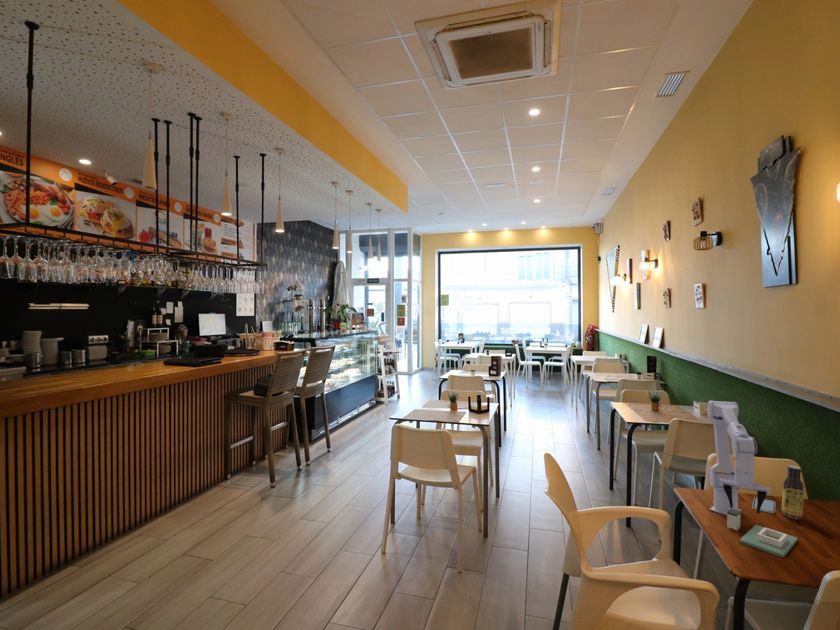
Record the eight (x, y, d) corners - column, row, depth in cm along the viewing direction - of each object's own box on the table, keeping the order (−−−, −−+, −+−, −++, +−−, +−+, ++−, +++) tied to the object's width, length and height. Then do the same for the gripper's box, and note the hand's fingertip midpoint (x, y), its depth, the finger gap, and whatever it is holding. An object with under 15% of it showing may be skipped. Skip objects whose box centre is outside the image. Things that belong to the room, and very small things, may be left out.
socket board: (755, 527, 163) (756, 519, 163) (797, 540, 153) (797, 532, 153) (739, 542, 152) (739, 533, 152) (783, 557, 142) (783, 548, 142)
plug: (730, 524, 165) (730, 508, 165) (740, 527, 163) (740, 511, 163) (726, 527, 162) (727, 511, 162) (736, 530, 160) (736, 514, 160)
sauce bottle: (783, 518, 170) (784, 467, 170) (779, 511, 176) (780, 462, 176) (805, 522, 167) (806, 470, 167) (800, 515, 173) (801, 465, 173)
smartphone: (776, 501, 185) (774, 512, 174) (775, 503, 185) (774, 515, 174) (754, 496, 190) (751, 507, 179) (754, 498, 190) (751, 509, 179)
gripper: (719, 469, 158) (719, 507, 157) (770, 478, 149) (771, 518, 148) (720, 465, 163) (720, 502, 162) (769, 473, 155) (770, 512, 154)
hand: (744, 509), depth 156 cm, fingers open, 7 cm apart
